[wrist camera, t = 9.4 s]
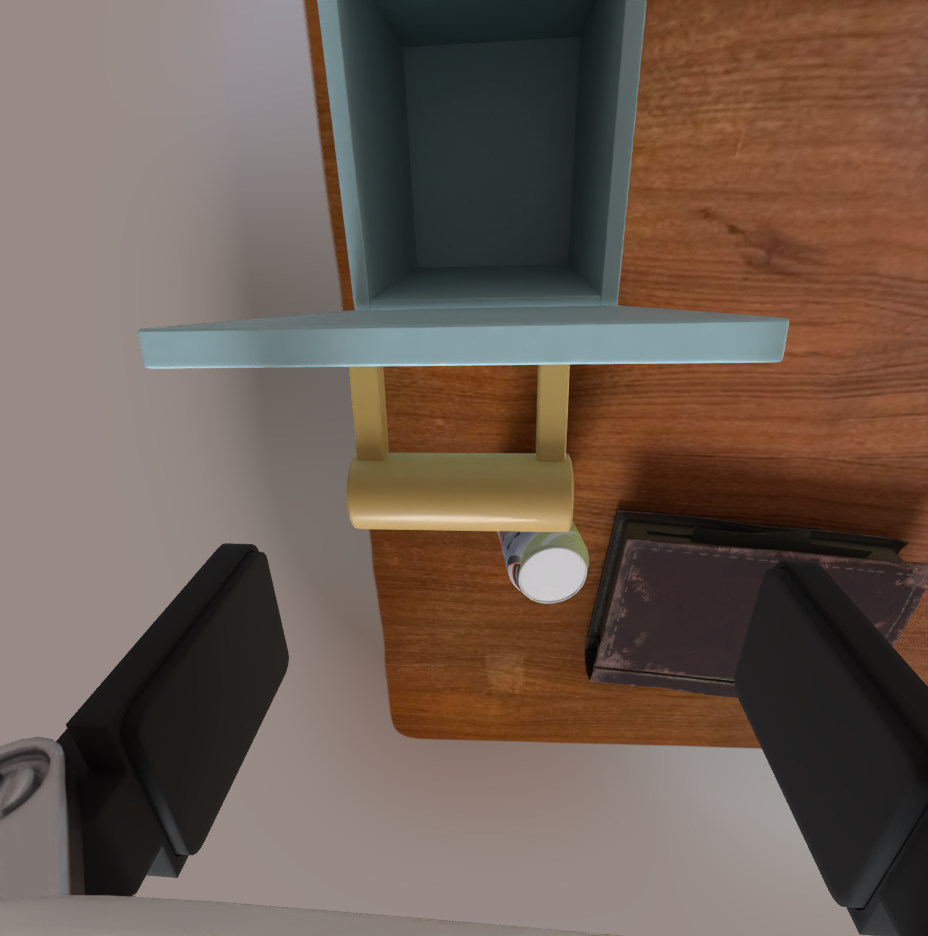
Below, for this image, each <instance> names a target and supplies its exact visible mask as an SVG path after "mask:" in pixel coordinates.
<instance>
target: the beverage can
mask: <svg viewBox="0 0 928 936" xmlns="http://www.w3.org/2000/svg"><path fill="white" fill-rule="evenodd" d="M498 535H499V539H500V543H501V547H502V551H503V555H504V559H505V563H506V567H507V571H508V574H509V577H510V580H511V581H512V583H513V584H514V586H515V587H516V588H517V589H518V590H520V591H521V592H522V593H524V594H525V595H526V596H527V597H528V598H530V599H531V600H534V601H536V602H539V603H546V604H549V603H558V602H561V601H564V600H566V599H568V598H570V597H572V596H573V595H574V594H576V593H577V592H578V591H579V590H580V589H581V587H582V586H583V584H584V582H585V579H586V575H587V569H588V565H589V554H588V551H587V548H586V546H585V544H584V542H583V540H582V538H581V536H580V534H579V532H578V530H577V528H576V526H575V524H574V522H573V520H572V524H571V527H570V530H569V531H568V532H518V531H498Z"/></svg>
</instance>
